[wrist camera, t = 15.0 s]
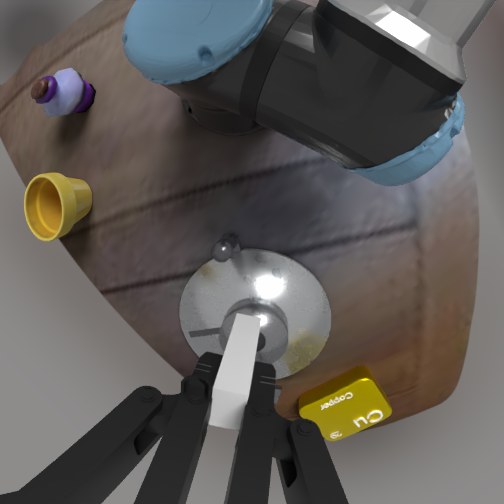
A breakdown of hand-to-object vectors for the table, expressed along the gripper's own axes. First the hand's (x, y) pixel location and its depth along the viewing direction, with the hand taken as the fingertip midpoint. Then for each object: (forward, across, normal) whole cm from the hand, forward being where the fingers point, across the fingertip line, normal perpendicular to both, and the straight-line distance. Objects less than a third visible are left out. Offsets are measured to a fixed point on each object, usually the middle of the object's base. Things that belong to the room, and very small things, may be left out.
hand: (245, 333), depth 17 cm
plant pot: (+25, -33, +1) cm, 41 cm away
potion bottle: (+25, -35, +19) cm, 47 cm away
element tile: (+25, +22, -29) cm, 44 cm away
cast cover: (+23, +1, -14) cm, 27 cm away
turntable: (+24, 0, -12) cm, 27 cm away
